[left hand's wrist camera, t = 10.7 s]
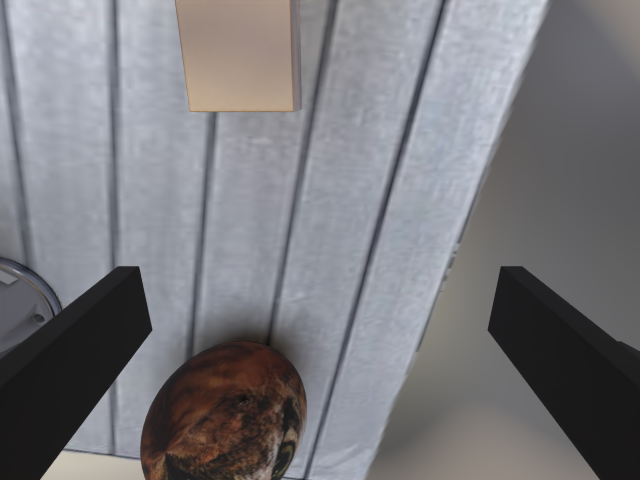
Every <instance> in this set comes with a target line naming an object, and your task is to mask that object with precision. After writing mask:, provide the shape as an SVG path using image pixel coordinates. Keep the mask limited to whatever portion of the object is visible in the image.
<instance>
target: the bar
mask: <svg viewBox="0 0 640 480" xmlns="http://www.w3.org/2000/svg"><path fill="white" fill-rule="evenodd" d="M175 4H176V12H177V19H178V27H179V34H180V41H181V49H182V56H183V64H184V71H185V79H186V86H187V94H188V101H189V109H190V112H293V111H296V110H299V109H302V97H301V47H300V0H175Z"/></svg>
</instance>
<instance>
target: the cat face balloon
mask: <svg viewBox="0 0 640 480" xmlns="http://www.w3.org/2000/svg"><path fill="white" fill-rule="evenodd" d="M306 420H307V401H306V394H305V389H304V386H303V383H302V380H301V378H300V376H299V374H298V372H297V370H296V369H295V367H294V366H293V365H292V363H291V362H290V361H289V360H288V359H287V358H286V357H285V356H284V355H282V354H281V353H280V352H278V351H277V350H275V349H273V348H271V347H269V346H267V345H264V344H260V343H256V342H248V341H237V342H229V343H224V344H220V345H217V346H214V347H212V348H209V349H207V350H205V351H203V352H201V353H199V354H197V355H196V356H194V357H192V358H191V359H190V360H188V361H187V362H186V363H184V364H183V365H182V366H181V367H180V368H178V369H177V370H176V371H175V372H174V373H173V374H172V375H171V376H170V378H169V379H168V380H167V381H166V382H165V384H164V385H163V386H162V388H161V389H160V391H159V392H158V394H157V395H156V397H155V399H154V401H153V403H152V405H151V407H150V409H149V411H148V414H147V416H146V420H145V423H144V426H143V431H142V436H141V446H140V457H141V464H142V469H143V473H144V477H145V479H146V480H281V479H282V477H283V476H284V475H285V473H286V472H287V470H288V469H289V467H290V466H291V464H292V462H293V461H294V459H295V457H296V455H297V452H298V450H299V448H300V445H301V442H302V439H303V436H304V432H305V427H306Z"/></svg>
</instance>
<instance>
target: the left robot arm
mask: <svg viewBox="0 0 640 480" xmlns="http://www.w3.org/2000/svg"><path fill="white" fill-rule="evenodd" d="M151 331H152V326H151V321H150V316H149V312H148V307H147V302H146V297H145V292H144V288H143V283H142V278H141V273H140V269H139V266H118V267H116V268H115V269H114V270H113V271H111V272H110V273H109V274H108V275H106V276H105V277H104V278H103V279H101V280H100V281H99V282H97V283H96V284H95V285H94V286H92V287H91V288H90V289H89V290H87V291H86V292H85V293H84V294H82V295H81V296H80V297H78V298H77V299H76V300H75V301H73V302H72V303H71V304H70V305H68V306H67V307H66V308H65V309H63V310H62V311H61V308H60V305H59V302H58V300H57V298H56V297H55V295H54V293H53V292H52V291H51V289H50V288H49V287H48V286H47V284H46V283H45V282H44V281H43V280H42V279H40V278H39V277H38V276H37V275H36V274H34V273H33V272H32V271H30V270H28V269H27V268H25V267H23V266H21V265H19V264H17V263H15V262H13V261H10V260H7V259H3V258H0V480H40V479H41V478H42V476H43V475H44V474H45V472H46V471H47V470H48V468H49V467H50V466H51V464H52V463H53V462H54V460H55V459H56V458H57V456H58V455H59V454H60V452H61V451H62V450H63V448H64V447H65V446H66V444H67V443H68V442H69V440H70V439H71V438H72V436H73V435H74V434H75V432H76V431H77V430H78V428H79V427H80V426H81V425H82V423H83V422H84V421H85V419H86V418H87V417H88V415H89V414H90V413H91V411H92V410H93V409H94V407H95V406H96V405H97V403H98V402H99V401H100V399H101V398H102V397H103V395H104V394H105V393H106V391H107V390H108V389H109V387H110V386H111V385H112V383H113V382H114V381H115V379H116V378H117V377H118V375H119V374H120V373H121V371H122V370H123V369H124V367H125V366H126V365H127V363H128V362H129V361H130V359H131V358H132V357H133V355H134V354H135V353H136V351H137V350H138V349H139V347H140V346H141V345H142V343H143V342H144V341H145V339H146V338H147V337H148V335H149V334H150V333H151ZM488 331H489V333H490V334H491V335H492V337H493V338H494V339H495V341H496V342H497V343H498V345H499V346H500V347H501V349H502V350H503V351H504V353H505V354H506V355H507V357H508V358H509V359H510V361H511V362H512V363H513V365H514V366H515V367H516V369H517V370H518V371H519V373H520V374H521V375H522V377H523V378H524V379H525V380H526V382H527V383H528V385H529V386H530V387H531V389H532V390H533V391H534V393H535V394H536V395H537V397H538V398H539V399H540V401H541V402H542V403H543V405H544V406H545V407H546V409H547V410H548V411H549V413H550V414H551V415H552V416H553V418H554V419H555V421H556V422H557V423H558V424H559V426H560V427H561V428H562V430H563V431H564V432H565V434H566V435H567V436H568V438H569V439H570V440H571V442H572V443H573V444H574V446H575V447H576V448H577V450H578V451H579V452H580V454H581V455H582V456H583V458H584V459H585V460H586V462H587V463H588V464H589V466H590V467H591V468H592V470H593V471H594V472H595V474H596V475H597V476H598V478H599V479H600V480H640V351H638V350H636V349H634V348H633V347H630V346H629V345H627V344H625V343H623V342H621V341H620V342H618V341H616V340H615V339H614V338H612V337H611V336H610V335H608V334H607V333H606V332H605V331H603V330H602V329H601V328H600V327H598V326H597V325H596V324H594V323H593V322H592V321H591V320H589V319H588V318H587V317H586V316H584V315H583V314H582V313H581V312H579V311H578V310H577V309H575V308H574V307H573V306H572V305H570V304H569V303H568V302H567V301H565V300H564V299H563V298H562V297H560V296H559V295H558V294H556V293H555V292H554V291H553V290H551V289H550V288H549V287H548V286H546V285H545V284H544V283H542V282H541V281H540V280H539V279H537V278H536V277H535V276H534V275H532V274H531V273H530V272H529V271H527V270H526V269H525V268H524V267H522V266H501V269H500V273H499V278H498V283H497V288H496V293H495V297H494V302H493V307H492V312H491V316H490V321H489V326H488Z"/></svg>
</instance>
